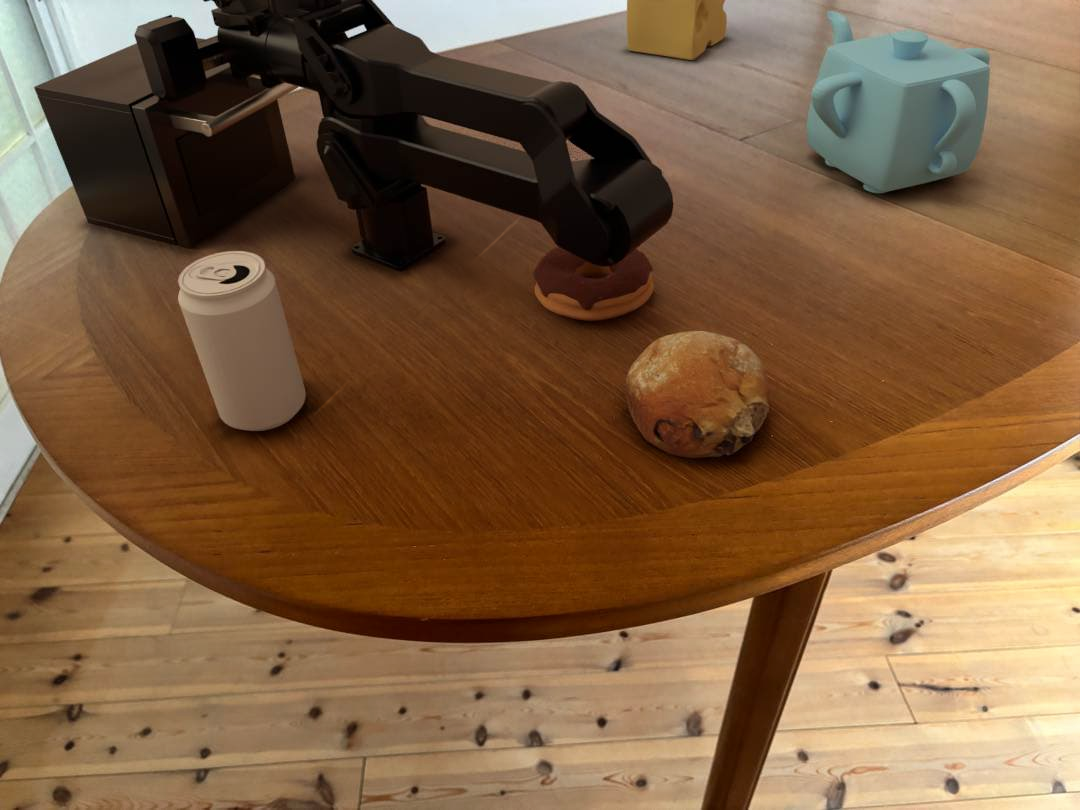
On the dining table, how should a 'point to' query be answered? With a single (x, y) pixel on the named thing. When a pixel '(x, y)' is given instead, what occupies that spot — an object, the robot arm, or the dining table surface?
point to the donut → (592, 285)
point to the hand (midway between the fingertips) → (182, 21)
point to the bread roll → (697, 394)
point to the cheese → (675, 26)
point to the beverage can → (242, 339)
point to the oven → (108, 143)
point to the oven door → (216, 151)
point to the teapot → (898, 107)
